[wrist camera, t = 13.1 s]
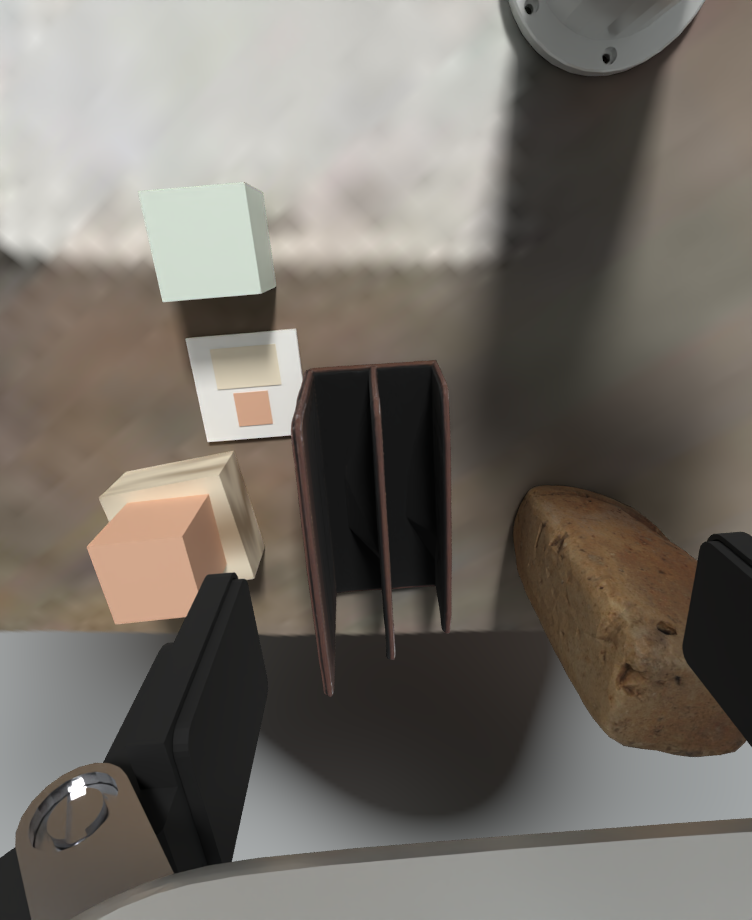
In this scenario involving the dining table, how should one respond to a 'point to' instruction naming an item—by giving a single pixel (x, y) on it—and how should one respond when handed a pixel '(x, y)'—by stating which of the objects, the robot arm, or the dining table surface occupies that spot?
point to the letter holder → (373, 488)
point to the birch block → (200, 478)
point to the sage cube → (209, 241)
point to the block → (619, 619)
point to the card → (246, 383)
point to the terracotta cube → (157, 557)
